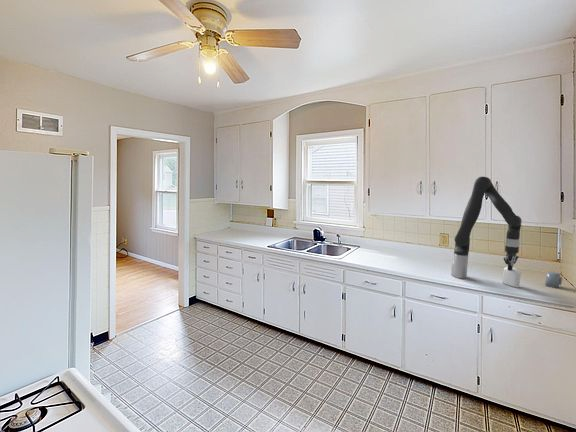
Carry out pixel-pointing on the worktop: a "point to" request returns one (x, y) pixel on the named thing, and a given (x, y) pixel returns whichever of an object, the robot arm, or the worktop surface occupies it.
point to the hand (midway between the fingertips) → (509, 270)
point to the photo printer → (511, 277)
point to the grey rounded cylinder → (553, 279)
